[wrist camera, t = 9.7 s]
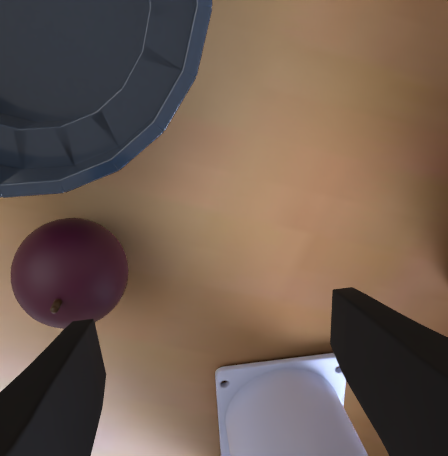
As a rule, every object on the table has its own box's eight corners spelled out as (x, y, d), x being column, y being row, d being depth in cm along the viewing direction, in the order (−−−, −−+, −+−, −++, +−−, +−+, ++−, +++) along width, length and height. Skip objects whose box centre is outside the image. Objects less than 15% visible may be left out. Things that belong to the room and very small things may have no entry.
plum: (138, 285, 21) (128, 355, 16) (44, 295, 20) (2, 370, 15) (126, 198, 19) (109, 246, 14) (22, 207, 19) (-34, 259, 14)
